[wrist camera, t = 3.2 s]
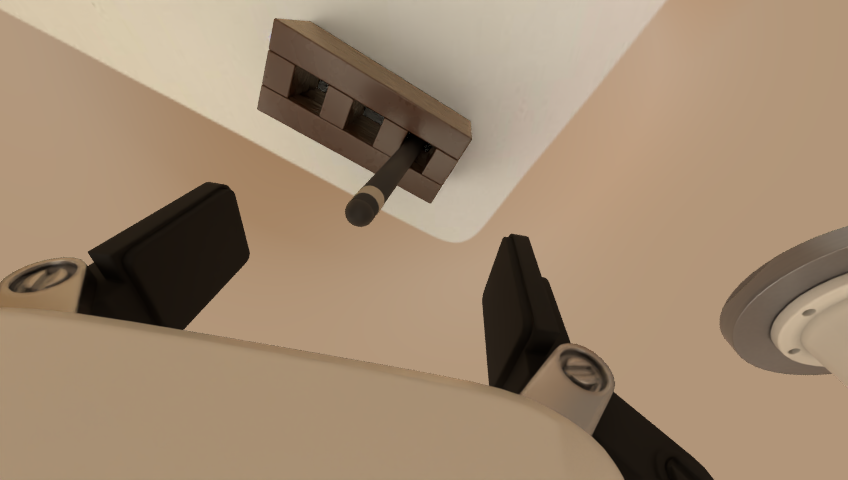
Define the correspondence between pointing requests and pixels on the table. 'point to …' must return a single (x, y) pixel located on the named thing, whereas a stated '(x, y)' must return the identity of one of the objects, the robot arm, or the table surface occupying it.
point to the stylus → (383, 183)
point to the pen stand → (358, 106)
